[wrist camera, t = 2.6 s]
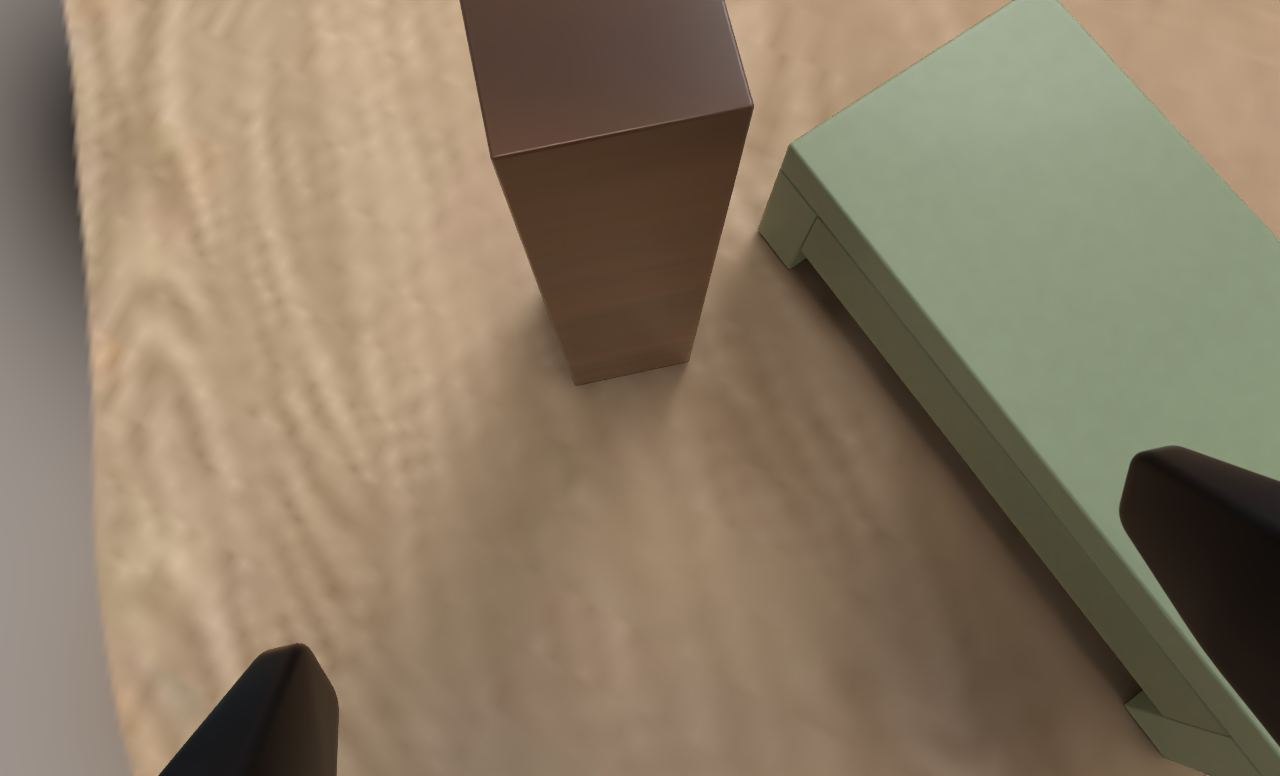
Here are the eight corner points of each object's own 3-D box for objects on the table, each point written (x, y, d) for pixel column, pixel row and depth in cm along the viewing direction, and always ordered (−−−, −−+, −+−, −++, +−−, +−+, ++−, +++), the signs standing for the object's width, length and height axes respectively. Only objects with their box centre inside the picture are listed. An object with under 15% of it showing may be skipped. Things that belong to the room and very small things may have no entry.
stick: (689, 361, 22) (755, 106, 10) (575, 386, 22) (490, 160, 10) (663, 254, 23) (693, -114, 10) (552, 277, 23) (446, -68, 10)
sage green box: (1164, 758, 20) (1332, 823, 15) (756, 229, 23) (787, 142, 18) (1379, 580, 21) (1602, 587, 16) (960, 95, 24) (1041, -20, 19)
